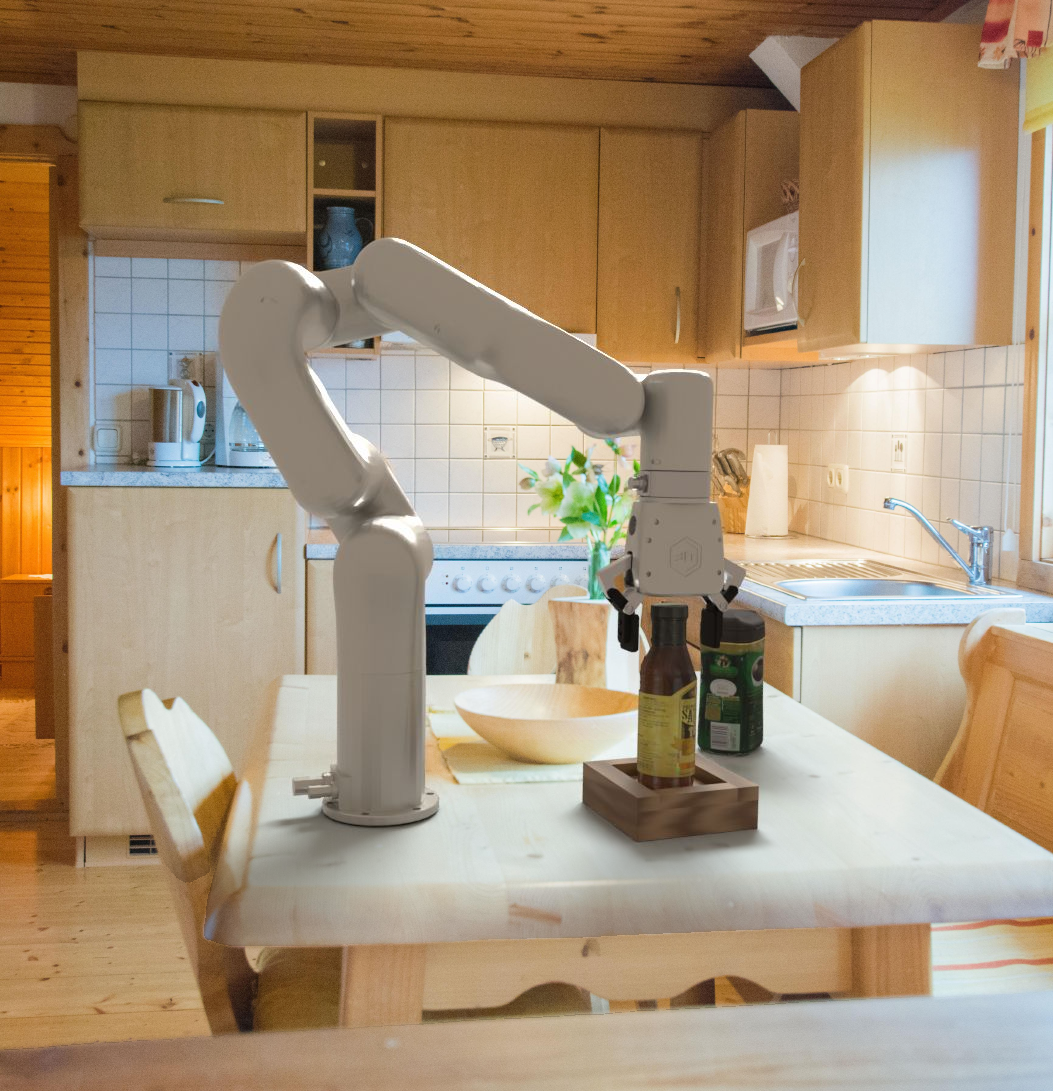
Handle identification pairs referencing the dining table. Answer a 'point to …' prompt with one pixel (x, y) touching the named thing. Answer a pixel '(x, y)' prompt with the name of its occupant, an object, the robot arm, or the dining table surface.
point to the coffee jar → (733, 686)
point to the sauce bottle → (667, 703)
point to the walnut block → (670, 800)
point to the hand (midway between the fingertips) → (670, 648)
